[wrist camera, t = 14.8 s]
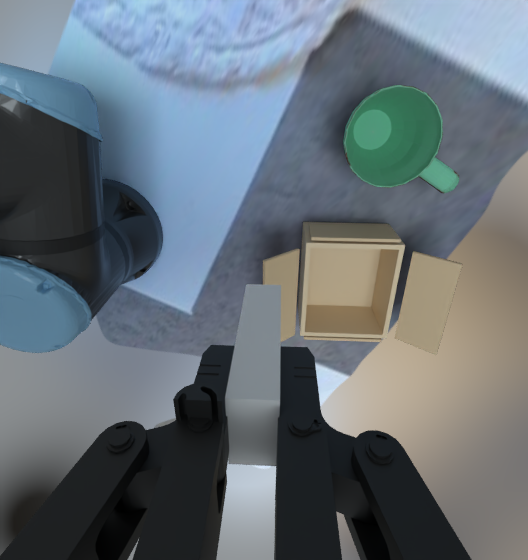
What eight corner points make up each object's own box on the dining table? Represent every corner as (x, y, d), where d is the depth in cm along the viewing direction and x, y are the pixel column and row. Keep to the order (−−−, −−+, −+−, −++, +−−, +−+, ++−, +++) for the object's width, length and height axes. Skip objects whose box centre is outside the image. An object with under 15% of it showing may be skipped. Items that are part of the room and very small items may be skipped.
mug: (317, 142, 47) (325, 155, 38) (365, 67, 43) (387, 62, 34) (404, 203, 50) (430, 227, 41) (457, 138, 46) (499, 150, 37)
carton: (297, 309, 59) (299, 339, 52) (303, 217, 52) (306, 237, 45) (373, 311, 58) (385, 342, 51) (389, 218, 51) (406, 239, 44)
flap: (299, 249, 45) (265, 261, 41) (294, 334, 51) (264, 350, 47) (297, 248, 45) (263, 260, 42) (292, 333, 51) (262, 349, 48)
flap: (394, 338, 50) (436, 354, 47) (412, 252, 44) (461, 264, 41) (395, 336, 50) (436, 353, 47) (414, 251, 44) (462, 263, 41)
